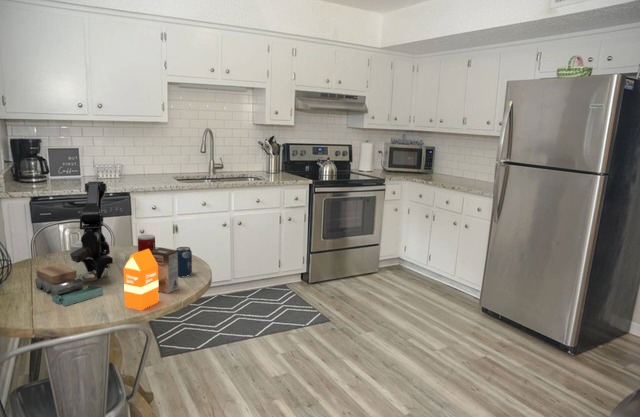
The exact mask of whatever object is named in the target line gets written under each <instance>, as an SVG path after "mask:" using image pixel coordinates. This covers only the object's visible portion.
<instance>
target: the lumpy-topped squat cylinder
mask: <svg viewBox="0 0 640 417" xmlns="http://www.w3.org/2000/svg"><path fill="white" fill-rule="evenodd" d="M80 248H82V242H81V239H80V240H77V241H75V242H74V243H71V245H70V254H71V253H72V252H74V251H76V250H78V249H80ZM70 259H71V261H72V262H74V261H73V260H72V258H71V257H70Z"/></svg>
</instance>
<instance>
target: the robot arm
mask: <svg viewBox="0 0 640 417" xmlns="http://www.w3.org/2000/svg"><path fill="white" fill-rule="evenodd" d="M107 185H108V184H107V183H105V182H104V181H88V182H86V183H84V192H85V193H86V196H87V197H86V205H85V206H84V207H83V208H82V210H81V213H80V214H79V230H83V233H82V236H81V238H80V240H81V242H82V248H80V249H78V250H76V251H74V252H72V253H71V252H70V254H69V256H70V259H71V258H72V260H73V261H72V260H71V261H72V262H76V263H81V262H82V263H83V264H84V268H85V269H86V272H90V271H94V270H96V275H97V279H96V280H99V279H102V278H101V276H102V274H103V272H104V270H105V268H107V269H108V268H110V266H109V265H110V264H113V261H114V259H113V258H114V257H113V256H110V254H111V253H110V252H111V250H110V244H109V242H108V241H107V238H106V236H104V234H103V228H102V227H103V226H104V215H103V213H102V211H103V210H102V202H103V200H104V198H105V197H106V192H107V190H108V189H107Z"/></svg>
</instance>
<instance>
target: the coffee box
mask: <svg viewBox="0 0 640 417" xmlns="http://www.w3.org/2000/svg"><path fill="white" fill-rule="evenodd" d="M151 253H152V255H153V257H154V259H155V260H156V262H157V264H158V291H160V292H159V293H163V292H165V293H164V294H168V293H169V294H170V292H171V291H173V290H175V289H176V290H178V289H179V276H178V251H176V249H170V248H166V247H165V248H164V247H158V248H155V250H152V251H151ZM177 288H178V289H177ZM176 290H175V291H176ZM173 292H174V291H173ZM171 293H172V292H171Z"/></svg>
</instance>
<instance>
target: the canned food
mask: <svg viewBox="0 0 640 417" xmlns="http://www.w3.org/2000/svg"><path fill="white" fill-rule="evenodd" d="M146 249H149V250H150V251H152V250H155V249H156V236H155V235H154V234H141V235H139V236H137V252H140V251H143V250H146Z"/></svg>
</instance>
